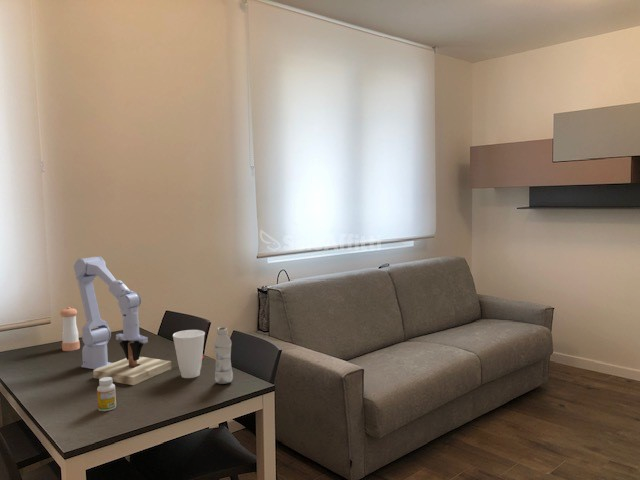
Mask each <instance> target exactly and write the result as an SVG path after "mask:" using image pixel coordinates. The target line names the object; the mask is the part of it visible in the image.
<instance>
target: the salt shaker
mask: <svg viewBox="0 0 640 480" xmlns="http://www.w3.org/2000/svg"><path fill="white" fill-rule="evenodd" d="M59 313H60V314H59V315H60V317H62V330H61V331H62V332H61V337H62V342H61V349H62V351H63V352H73V351H77V350H79V349H80V348H81V344H80V339H79V330H78V325H77V315H78V310H77V309H76V308H74V307H73V308H71V307H70V306H66V308H64V309H62V310H61V311H60V312H59Z"/></svg>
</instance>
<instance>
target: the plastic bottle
mask: <svg viewBox="0 0 640 480" xmlns="http://www.w3.org/2000/svg"><path fill="white" fill-rule="evenodd" d="M216 335H217V336H216V337H215V338H214V340H213V348H214V354H215V355H214V357H215V372H214V379H215V382H216V383H217V384H219V385H224V384H225V385H226V384H230V383H231V382H232V381H233V377H234V373H233V368H232V362H231V361H232V360H231V355H232V354H231V353H232V340H231V338H230V336H228V327H223V326H221V327H217V328H216Z"/></svg>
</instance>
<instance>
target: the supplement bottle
mask: <svg viewBox="0 0 640 480" xmlns="http://www.w3.org/2000/svg"><path fill="white" fill-rule="evenodd" d="M98 382H99V383H98V385H99V386H97V389H96V396H97V407H98V408H97V409H98V411H100V412H109V411H112V410H114V409H116V407H117V400H116V399H117V398H116V397H117V394H116V385H115V384H114V383H113V380H112V377H104V378H101V379H98Z"/></svg>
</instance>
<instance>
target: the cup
mask: <svg viewBox="0 0 640 480" xmlns="http://www.w3.org/2000/svg"><path fill="white" fill-rule="evenodd" d="M205 335H206V332H205V331H204V330H200V329H186V330H180V331H176V332H174V333H173V334H172V339H173V344H174V349H175V354H176V355H175V356H176V358H177V365H178V370H179V371H180V376H181V378H184V379H194V378H196V377H199V376H200V375H201V369H202V363H203V362H202V361H203V359H202V355H203V354H204V353H203V351H204V343H205Z"/></svg>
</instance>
